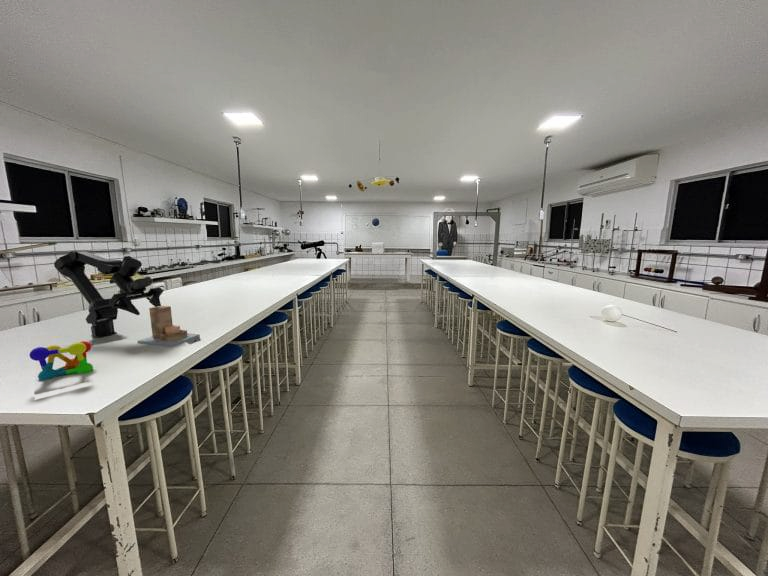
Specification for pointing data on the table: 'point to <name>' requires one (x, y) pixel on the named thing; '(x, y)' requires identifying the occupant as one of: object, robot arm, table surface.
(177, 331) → the block
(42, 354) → the molecular model
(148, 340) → the plate
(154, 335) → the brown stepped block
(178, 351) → the table surface
